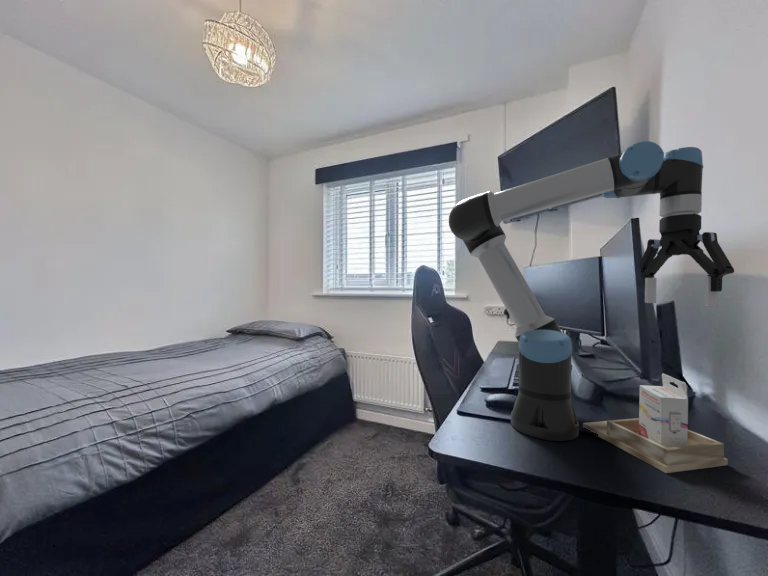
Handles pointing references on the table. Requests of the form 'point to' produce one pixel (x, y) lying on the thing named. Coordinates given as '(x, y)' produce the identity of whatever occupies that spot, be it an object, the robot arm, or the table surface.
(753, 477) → the table surface
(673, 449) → the wooden tray
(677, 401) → the ink cartridge box
